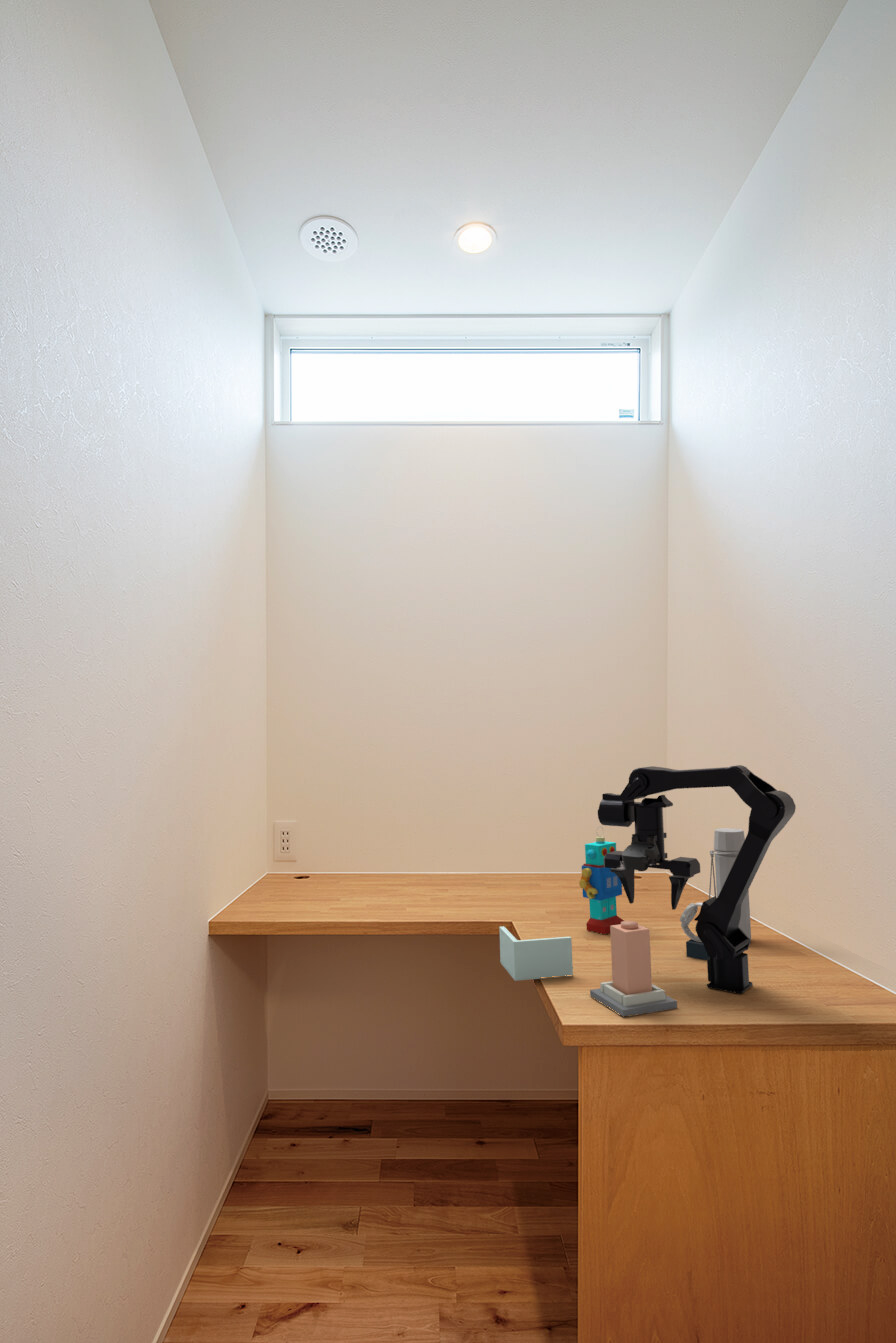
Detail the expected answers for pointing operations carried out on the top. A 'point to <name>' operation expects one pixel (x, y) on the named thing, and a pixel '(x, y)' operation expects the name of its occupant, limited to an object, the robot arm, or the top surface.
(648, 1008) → the socket plate
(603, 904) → the toy robot
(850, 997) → the top surface
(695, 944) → the watch
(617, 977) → the pillar
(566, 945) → the l-shaped corner panel
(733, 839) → the water bottle
